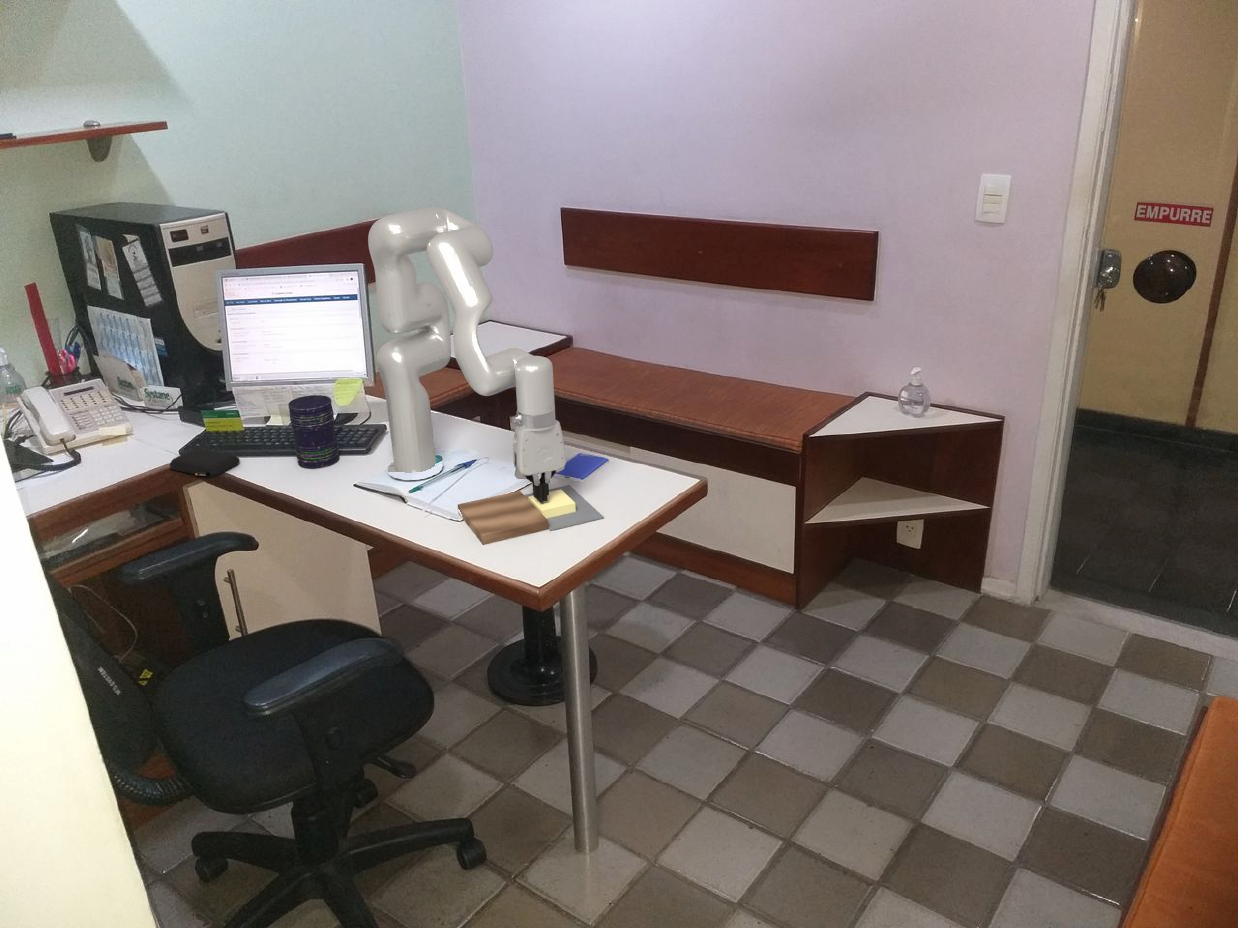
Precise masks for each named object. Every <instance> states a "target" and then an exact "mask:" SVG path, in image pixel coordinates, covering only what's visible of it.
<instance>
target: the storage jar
mask: <svg viewBox="0 0 1238 928" xmlns="http://www.w3.org/2000/svg"><path fill="white" fill-rule="evenodd" d="M287 404H288V405H287V406H288V411H289V421H290V426H291V428H292V429H293V435H294V447H295V449H294V450H295V455H296V458H297V464H298V466H299V467H300V468H303V469H305V470H306V469H307V470H317V469H318V470H319V469H324V468H328V467H332V466H334V465H336V464H337V463H338V462H339V461H340V459H341V458H340V454H339V453H340V451H339V450H340V448H339V443H338V438H337V436H336V430H335V424H334V423H335V416H334V408H333V405H332V404H333V403H332V398H331V397H330V396H327V395H322V394H313V395H310V394H309V395H303V396H301V397H297V398H293V399H292V400H290V401H289V402H288V403H287Z"/></svg>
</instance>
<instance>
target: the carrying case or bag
mask: <svg viewBox="0 0 1238 928" xmlns="http://www.w3.org/2000/svg"><path fill="white" fill-rule="evenodd" d="M240 463H241V459H240V458H239V457H238V456H237V455H235V454H232V453H226V452H220V451H215V450H210V449H203V448H193V449H191V450H189V451H187V452H184V453H183V454H181V455H178V456H177V457H174V458H172V460H171V462H169V467H170V468H171V469H172V470H173V471H175V472H176V471H177V472H180V473H181V472H182V473H186V474H191V475H194V476H196V477H208V478H216V477H219V476H220V475H222V474H225V473H227V472H229V471H231V470H232V469H235V468H236V467H238V465H239V464H240Z"/></svg>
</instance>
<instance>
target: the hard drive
mask: <svg viewBox="0 0 1238 928" xmlns="http://www.w3.org/2000/svg"><path fill="white" fill-rule="evenodd" d="M609 463H610V459H609V458H608V457H602V456H597V455H593V454H589V453H588V454H587V453H581V452H579V453H578V454H576V455H575V456H573V457H571V459H569V460H566V464H565V466H564V467H565V468H564V469H563V470H561V471H559V472H556V473H555V474H554V476H553V477H556V478H559V479H564V480H569V481H574V482H579V483H584V482H585V481H586V480H587V479H589V478H590V477H592V476H593V475H594V474H595V473H597V472H598V471H599V470H601V469H602V468H603V467H604V466H606V465H607V464H609Z"/></svg>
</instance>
